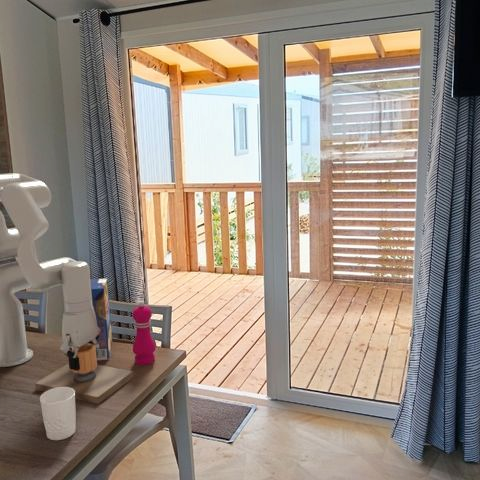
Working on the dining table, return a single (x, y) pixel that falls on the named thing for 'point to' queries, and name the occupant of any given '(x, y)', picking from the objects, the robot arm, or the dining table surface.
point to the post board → (87, 382)
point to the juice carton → (102, 316)
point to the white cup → (59, 412)
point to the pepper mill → (143, 336)
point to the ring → (86, 358)
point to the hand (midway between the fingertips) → (83, 363)
